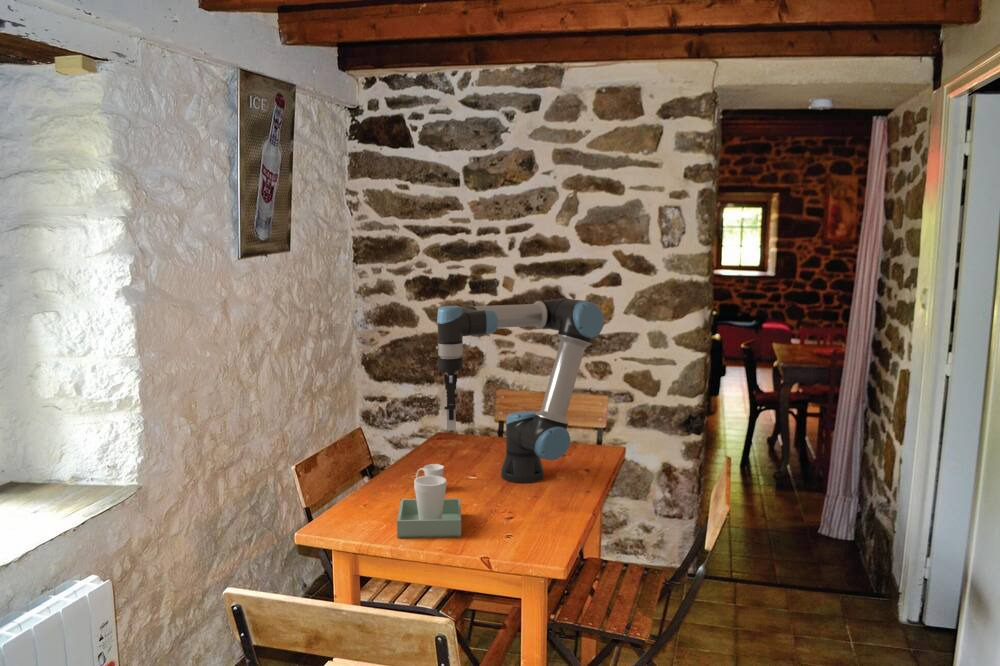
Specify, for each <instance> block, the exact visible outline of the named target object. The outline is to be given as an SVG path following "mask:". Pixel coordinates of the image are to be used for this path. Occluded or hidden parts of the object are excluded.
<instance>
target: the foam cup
mask: <svg viewBox="0 0 1000 666" xmlns="http://www.w3.org/2000/svg"><path fill="white" fill-rule="evenodd" d="M413 483H414V484H413V486H414V487H413V490H414V492H415V499H416V501H417V508H418V515H419V520H440V519H442V513H443V505H444V499H445V496H446V490H447V478H445V477H443V476H442V477H440V476H432V475H429V476H425V475H422V476H418V478H416V477H415V479H414V480H413Z"/></svg>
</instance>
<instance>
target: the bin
mask: <svg viewBox="0 0 1000 666" xmlns="http://www.w3.org/2000/svg"><path fill="white" fill-rule="evenodd" d="M396 519H397V520H396V538H397V539H419V538H421V539H425V538H426V539H427V538H428V539H431V538H440V539H441V538H462V502H461V498H444V505H443V513H442V519H440V520H419V515H418V508H417V501H416V498H404V499H403V498H401V499H400V503H399V508H398V515H397V518H396Z"/></svg>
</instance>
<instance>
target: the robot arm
mask: <svg viewBox="0 0 1000 666" xmlns="http://www.w3.org/2000/svg"><path fill="white" fill-rule="evenodd" d="M436 317H437V318H436V319H437V320H436V323H437V345H436V347H435V349H436V350H437V355H438V356H439V357H438V358H437V368H438V370H439V371H443V372H446V374H444V375H443V377H444V378H443V382H444V389H445V391H446V393H445V394H446V395H445V397H446V406H444V410H446V431H456V430H457V416H456V415H457V413H456V412H457V411H456V410H457V408H456V407H457V405H456V399H457V398H458V395H457V394H456V390H457V382H458V374H457V373H456V374H455V372H456V371H461V370H462V369H463V368H464V365H463V363H464V359H463V357H462V356H463V354H464V352H463V349H464V346H463V342H464V341H463V338H464V337H468V336H480V335H481V336H482V335H484V336H487V335H490V334H494V333H495V332H496V331H497V330H498V329H501V328H502V329H503V328H504V329H505V328H520V327H521V328H522V327H535V328H536V329H539V330H541V329H545V330H553V331H558V333H557V337H558V339H559V341H560V342H559V345H558V349H557V353H556V356H555V359H554V363H553V366H552V370H551V373H550V377H549V380H548V383H547V387H546V389H545V395H544V397H543V402H542V404H541V407H540V408H541V409H540V410H538V411H536V410H535V411H534V410H522V411H515V412H511V413H508V415H506V422H505V427H506V430H505V432H506V433H505V444H506V445H505V452H506V453H505V458H504V460H503V464H502V466H501V469H500V477H501V479H503V480H504V481H507V482H512V483H517V484H519V483H520V484H528V483H529V484H530V483H535V482H539V481H541V480H543V479H544V477H545V469H544V467H543V463H542V459H543V460H548V461H554V460H555V461H556V460H558V459H560V458H561V457H563V456H564V455H565V454H566V453H567V451H568V450H569V448H570V445H571V436H570V433H569V431H568V430H567V429H568V426H569V421H568V419H567V417H566V416H567V413H568V410H569V407H570V402H571V399H572V396H573V392H574V388H575V385H576V382H577V379H578V374H579V371H580V367H581V364H582V360H583V357H584V354H585V349H586V348H587V347H589V346H591V345H592V342H593V338H596V337H597V336H598V335H600V334H601V332H602V331H603V328H604V324H605V318H604V314H603V311H602V310H601V308H600V307H599V306H598V305H597V304H596V303H594V302H591V301H588V300H581V299H575V298H573V299H572V298H554V299H545V300H536V301H535V302H534V303H526V304H525V303H524V304H503V305H501V304H499V305H497V304H496V305H475V306H474V305H473V306H459V305H442V306H440V307H439V308H438V309H437V316H436Z"/></svg>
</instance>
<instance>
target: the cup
mask: <svg viewBox="0 0 1000 666" xmlns="http://www.w3.org/2000/svg"><path fill="white" fill-rule="evenodd" d="M444 468H445V466H444V465H442V464H439V463H431V464H426V465H424V466H423V467H421V468H419V469H417V471H416V473H415V479H416V478H418V477H419V472H420V471H423V473H424V476H429V475H432V476H440V477H443V474H444Z"/></svg>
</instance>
